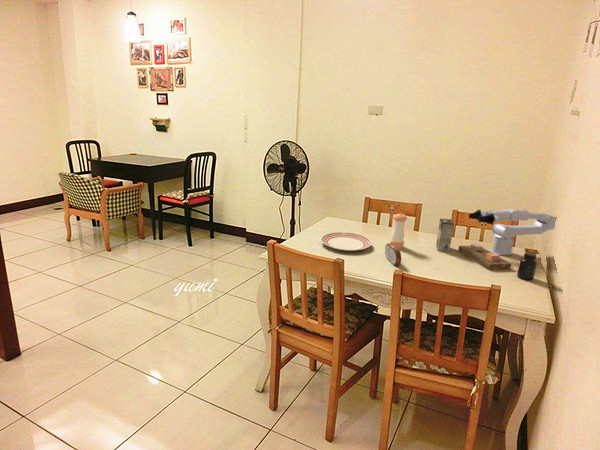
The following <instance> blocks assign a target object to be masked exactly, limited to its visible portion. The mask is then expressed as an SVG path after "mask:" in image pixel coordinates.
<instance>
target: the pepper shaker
mask: <svg viewBox="0 0 600 450" xmlns="http://www.w3.org/2000/svg"><path fill="white" fill-rule="evenodd" d="M407 219H408V217H407V215H406V214H403V212H399V213H396V214H395V215H393V221H394V222H393V229H392V232H391V238H390V241H389V243H393V244H394V245H395V246H396V247H397V248H398V249H399V250H401V249H403V248H404V245H405V241H404V238H405V223H406V222H407Z"/></svg>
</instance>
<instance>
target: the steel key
mask: <svg viewBox="0 0 600 450" xmlns="http://www.w3.org/2000/svg"><path fill="white" fill-rule="evenodd" d="M470 246H471V250H473V251H475V252H481V251H482V248H484V247H483V246H482V245H481V244H478V243H473V244H472V243H471V245H470Z"/></svg>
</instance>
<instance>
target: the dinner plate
mask: <svg viewBox="0 0 600 450" xmlns="http://www.w3.org/2000/svg"><path fill="white" fill-rule="evenodd" d="M320 241H321V243H322V244H323V245H325V246H327V247H329V248H331V249H335V250H339V251H343V252H355V251H356V252H357V251H362V250H365V249H368V248H369V247H370V246H371V245H372V240H371V239H369V238H368V237H367V236H364V235H362V234H359V233H354V232H346V231H344V232H343V231H337V232H336V231H335V232H334V231H333V232H329V233H326V234H324V235H323V236H321V237H320Z"/></svg>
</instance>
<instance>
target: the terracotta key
mask: <svg viewBox="0 0 600 450" xmlns="http://www.w3.org/2000/svg"><path fill="white" fill-rule="evenodd" d="M499 257H500V255H497V254H495V253H492V252H491V253H487V254H486V259H488V260H490V261H498V259H499Z"/></svg>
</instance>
